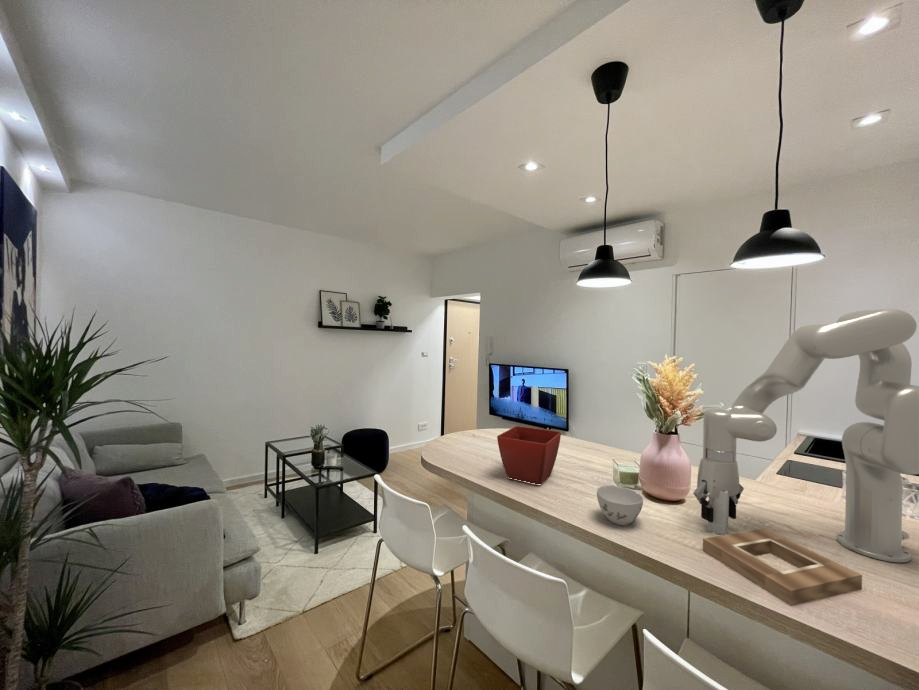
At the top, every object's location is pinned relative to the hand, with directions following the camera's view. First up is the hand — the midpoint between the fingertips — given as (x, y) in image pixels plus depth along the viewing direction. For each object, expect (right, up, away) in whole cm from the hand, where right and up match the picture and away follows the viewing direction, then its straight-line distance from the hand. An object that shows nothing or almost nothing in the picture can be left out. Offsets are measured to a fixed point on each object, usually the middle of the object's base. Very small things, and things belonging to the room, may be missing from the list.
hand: (718, 517), depth 104 cm
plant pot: (-45, -3, +39) cm, 60 cm away
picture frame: (+1, -4, -17) cm, 18 cm away
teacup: (-24, -3, +6) cm, 25 cm away
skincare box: (0, -4, 0) cm, 4 cm away
